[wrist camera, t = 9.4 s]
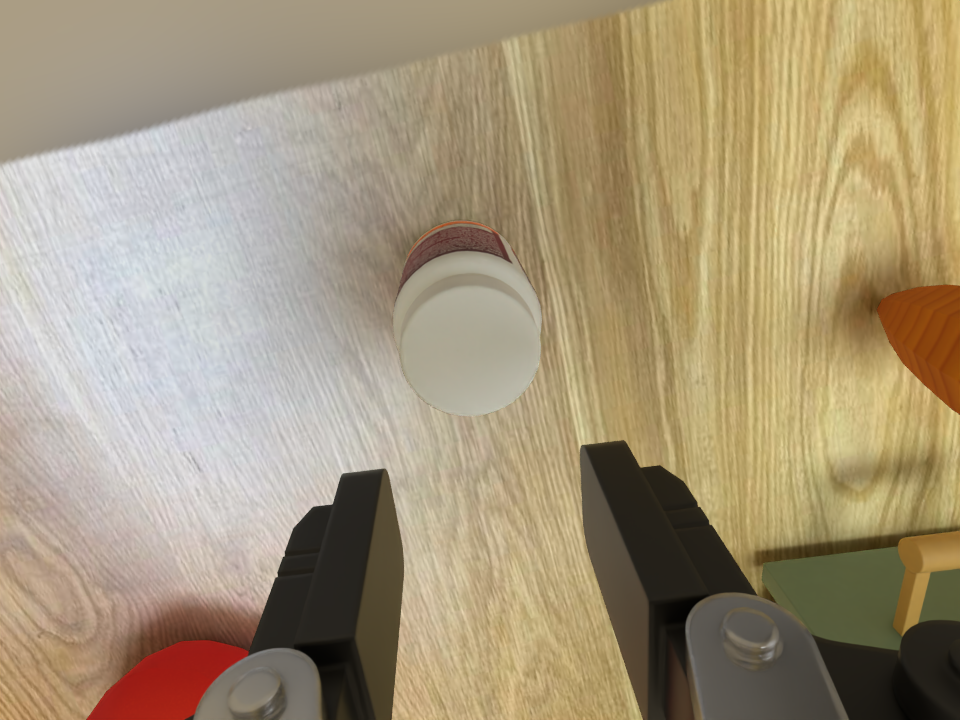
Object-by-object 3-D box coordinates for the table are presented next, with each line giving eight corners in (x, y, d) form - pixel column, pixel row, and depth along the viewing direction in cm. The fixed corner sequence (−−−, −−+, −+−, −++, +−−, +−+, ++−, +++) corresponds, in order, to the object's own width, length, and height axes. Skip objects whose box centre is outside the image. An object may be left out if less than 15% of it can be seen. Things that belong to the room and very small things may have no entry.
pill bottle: (379, 282, 24) (349, 362, 16) (457, 193, 23) (464, 234, 15) (465, 353, 26) (475, 458, 18) (543, 273, 24) (589, 348, 17)
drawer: (771, 481, 28) (884, 608, 21) (1028, 450, 28) (1229, 566, 21) (743, 739, 35) (821, 901, 28) (949, 713, 35) (1078, 867, 28)
